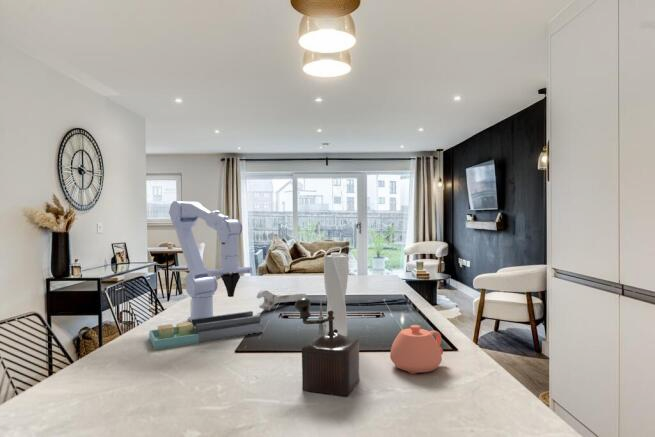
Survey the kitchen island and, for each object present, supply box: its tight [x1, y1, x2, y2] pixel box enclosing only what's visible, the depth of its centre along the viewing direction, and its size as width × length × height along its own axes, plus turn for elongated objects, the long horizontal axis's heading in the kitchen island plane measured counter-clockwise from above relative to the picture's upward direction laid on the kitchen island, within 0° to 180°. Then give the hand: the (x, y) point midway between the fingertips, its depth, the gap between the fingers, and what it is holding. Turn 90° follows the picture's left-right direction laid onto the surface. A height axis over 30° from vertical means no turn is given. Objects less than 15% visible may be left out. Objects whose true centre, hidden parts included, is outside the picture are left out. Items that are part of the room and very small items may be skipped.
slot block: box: [190, 310, 264, 344], centre depth 133 cm, size 12×20×5 cm, turn 120°
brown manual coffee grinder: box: [294, 297, 360, 398], centre depth 93 cm, size 16×11×18 cm
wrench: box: [256, 289, 307, 311], centre depth 171 cm, size 8×2×30 cm
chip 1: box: [157, 323, 175, 340], centre depth 124 cm, size 4×4×4 cm
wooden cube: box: [175, 321, 193, 337], centre depth 126 cm, size 4×4×4 cm
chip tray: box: [148, 326, 200, 351], centre depth 125 cm, size 12×12×2 cm
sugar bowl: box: [389, 324, 444, 375], centre depth 102 cm, size 12×14×10 cm
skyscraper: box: [317, 246, 349, 337], centre depth 123 cm, size 8×8×28 cm
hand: (230, 296), depth 139 cm, fingers closed
